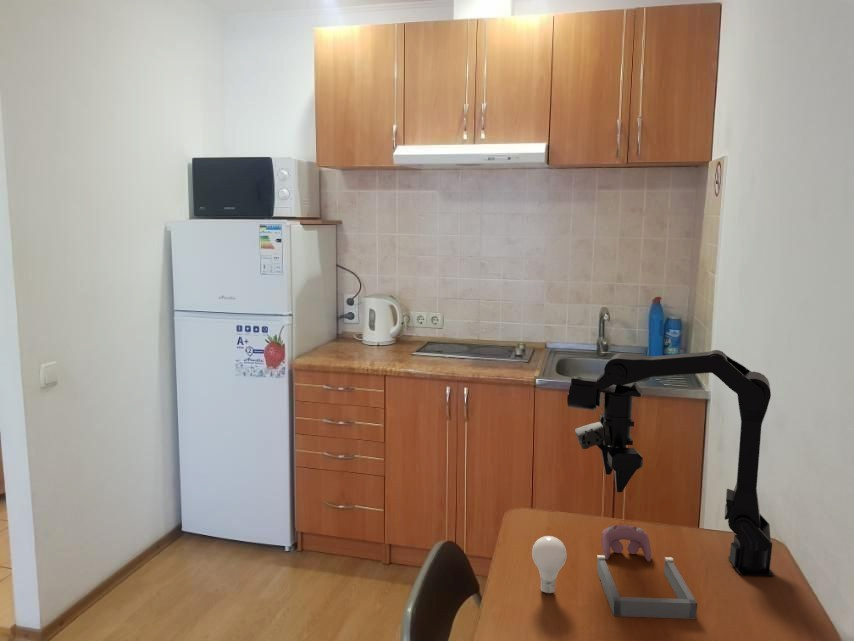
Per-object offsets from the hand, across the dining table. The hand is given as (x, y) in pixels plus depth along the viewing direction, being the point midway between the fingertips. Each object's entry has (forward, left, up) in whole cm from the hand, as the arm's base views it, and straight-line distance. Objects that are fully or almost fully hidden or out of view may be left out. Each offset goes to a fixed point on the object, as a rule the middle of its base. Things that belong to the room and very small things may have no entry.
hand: (613, 482), depth 144 cm
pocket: (-2, +20, -13) cm, 24 cm away
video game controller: (-2, +7, -13) cm, 15 cm away
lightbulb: (+16, +21, -13) cm, 30 cm away
